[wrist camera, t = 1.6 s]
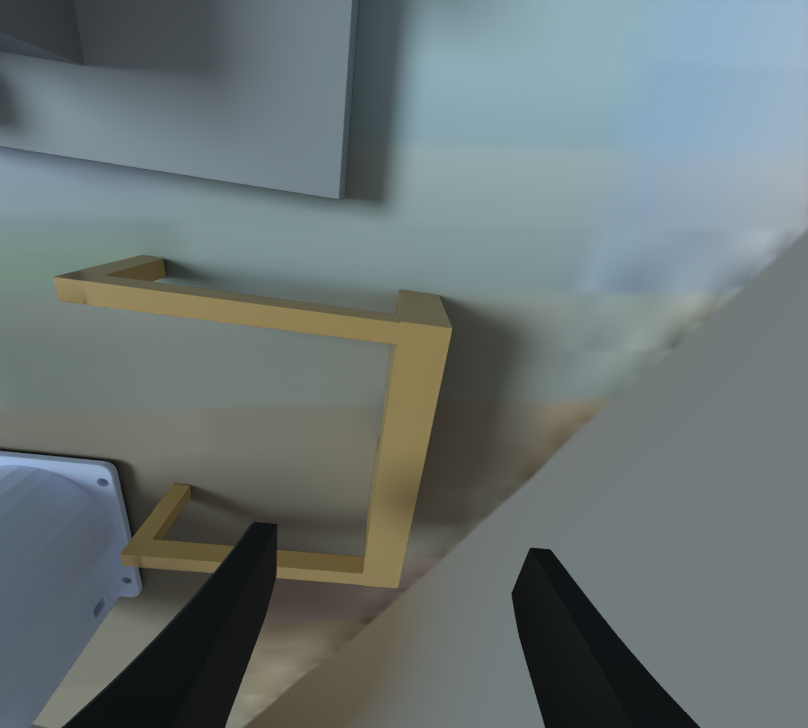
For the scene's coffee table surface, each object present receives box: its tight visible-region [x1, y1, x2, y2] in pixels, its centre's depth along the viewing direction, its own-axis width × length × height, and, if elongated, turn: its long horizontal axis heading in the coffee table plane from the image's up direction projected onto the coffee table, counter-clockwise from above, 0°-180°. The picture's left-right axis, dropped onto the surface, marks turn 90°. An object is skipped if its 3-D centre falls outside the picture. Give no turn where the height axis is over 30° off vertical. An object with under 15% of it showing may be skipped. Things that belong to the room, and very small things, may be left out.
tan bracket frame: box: [53, 255, 453, 588], centre depth 15 cm, size 11×12×4 cm
